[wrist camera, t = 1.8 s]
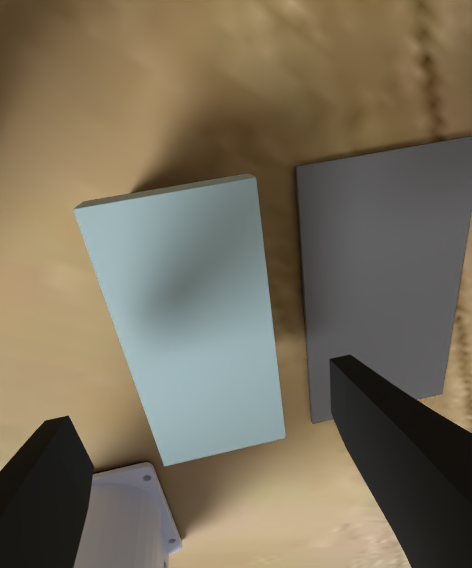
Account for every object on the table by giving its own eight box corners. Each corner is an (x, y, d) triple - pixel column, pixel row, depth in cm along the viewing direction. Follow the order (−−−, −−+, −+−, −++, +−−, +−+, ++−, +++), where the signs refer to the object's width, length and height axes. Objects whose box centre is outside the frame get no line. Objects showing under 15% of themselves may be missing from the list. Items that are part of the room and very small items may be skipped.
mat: (439, 390, 23) (442, 393, 22) (311, 420, 22) (312, 424, 22) (478, 134, 16) (483, 134, 16) (294, 166, 15) (296, 167, 15)
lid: (278, 417, 16) (285, 438, 15) (165, 443, 16) (164, 466, 14) (248, 173, 11) (256, 177, 10) (83, 201, 11) (72, 209, 10)
